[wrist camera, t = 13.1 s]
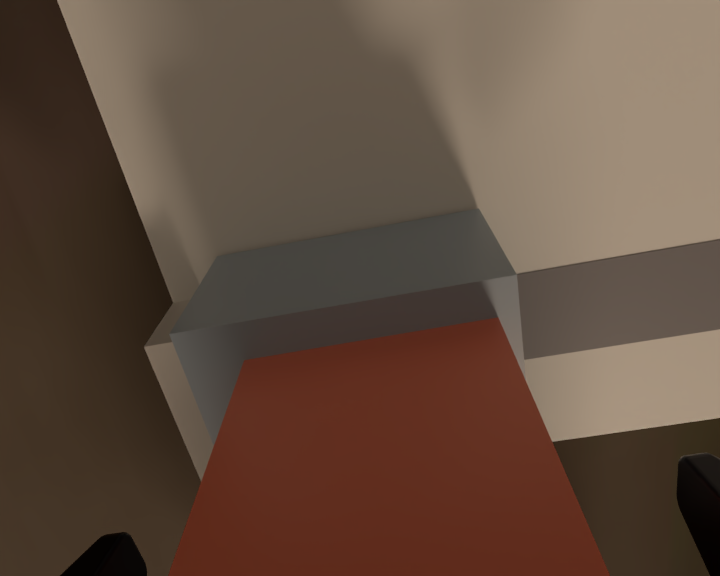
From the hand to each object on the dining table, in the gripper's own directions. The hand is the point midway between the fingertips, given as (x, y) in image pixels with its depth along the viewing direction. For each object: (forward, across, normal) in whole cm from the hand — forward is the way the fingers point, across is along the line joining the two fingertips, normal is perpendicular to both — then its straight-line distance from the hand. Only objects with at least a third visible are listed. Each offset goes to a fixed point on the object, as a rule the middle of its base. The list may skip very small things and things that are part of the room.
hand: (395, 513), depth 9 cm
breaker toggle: (+5, 0, 0) cm, 5 cm away
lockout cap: (+2, 0, 0) cm, 2 cm away
